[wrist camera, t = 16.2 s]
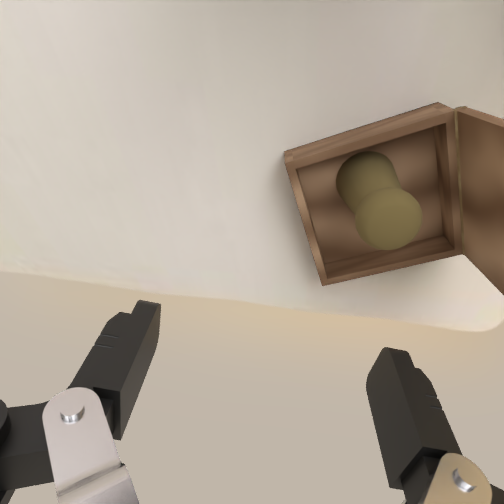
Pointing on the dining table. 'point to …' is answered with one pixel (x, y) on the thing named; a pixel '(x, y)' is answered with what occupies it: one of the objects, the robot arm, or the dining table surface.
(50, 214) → the dining table surface
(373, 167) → the olive tapered rounded piece
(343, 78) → the dining table surface
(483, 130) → the box lid
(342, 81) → the dining table surface
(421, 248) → the walnut box
